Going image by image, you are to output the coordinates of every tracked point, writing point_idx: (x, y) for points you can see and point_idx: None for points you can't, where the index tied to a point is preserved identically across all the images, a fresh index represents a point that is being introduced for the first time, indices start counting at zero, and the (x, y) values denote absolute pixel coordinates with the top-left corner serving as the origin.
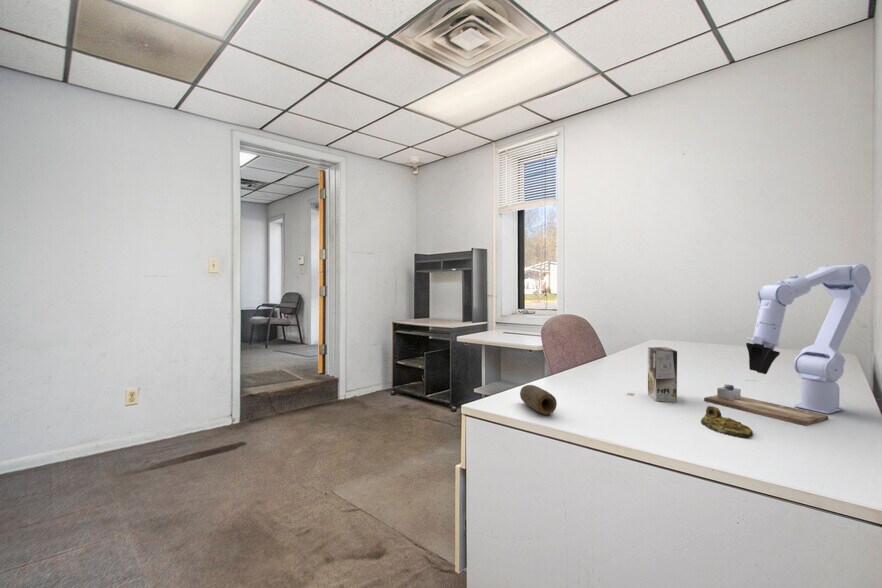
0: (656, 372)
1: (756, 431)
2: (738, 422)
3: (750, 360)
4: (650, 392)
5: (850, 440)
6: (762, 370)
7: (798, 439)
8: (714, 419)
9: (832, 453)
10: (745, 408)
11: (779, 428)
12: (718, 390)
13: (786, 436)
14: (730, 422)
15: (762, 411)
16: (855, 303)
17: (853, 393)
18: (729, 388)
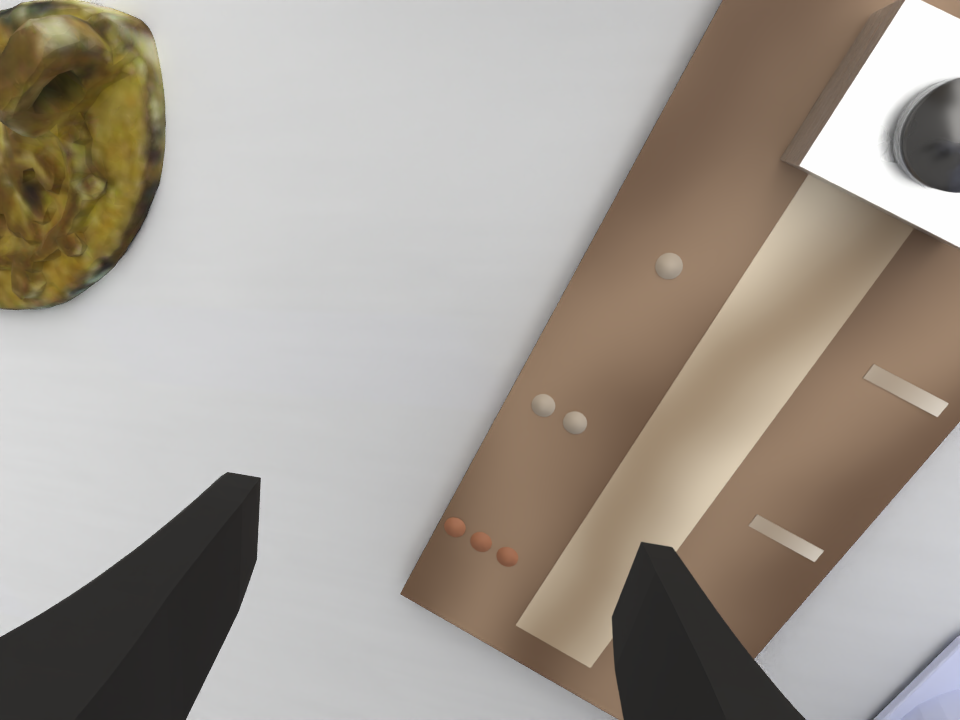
0: None
1: (95, 328)
2: (50, 242)
3: (133, 562)
4: None
5: (273, 697)
6: (626, 622)
7: (115, 499)
8: None
9: (23, 581)
10: (569, 282)
11: (249, 445)
12: (892, 13)
13: (122, 457)
14: (19, 197)
15: (513, 395)
16: None
17: None
18: (895, 144)
